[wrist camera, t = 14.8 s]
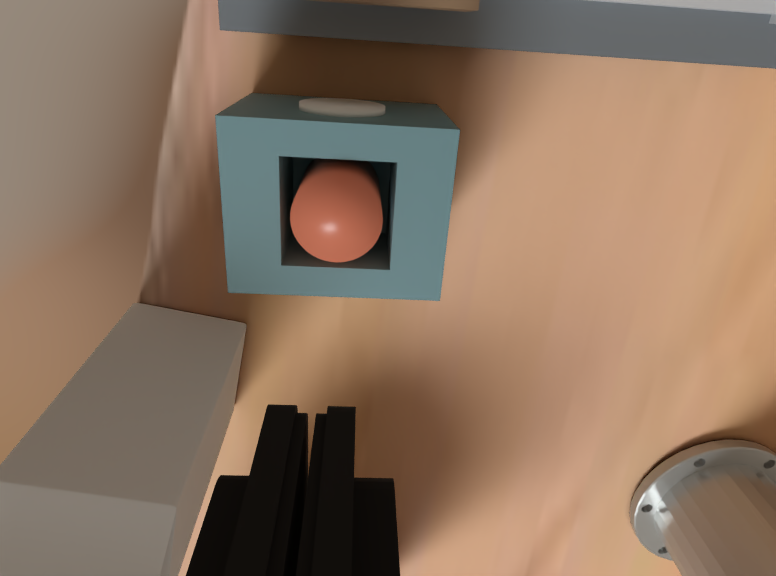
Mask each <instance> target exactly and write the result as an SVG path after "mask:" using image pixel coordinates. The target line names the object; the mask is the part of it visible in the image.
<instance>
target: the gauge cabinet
mask: <svg viewBox="0 0 776 576" xmlns="http://www.w3.org/2000/svg"><path fill="white" fill-rule="evenodd" d="M215 119H216V133H217V147H218V161H219V174H220V188H221V202H222V216H223V230H224V244H225V258H226V272H227V286H228V293H249V294H275V295H302V296H328V297H354V298H381V299H407V300H433V301H440V295H441V287H442V278H443V270H444V261H445V253H446V244H447V236H448V227H449V219H450V211H451V202H452V194H453V185H454V177H455V168H456V160H457V151H458V143H459V135H460V129H459V128H458V127H457V126H456V125H455V124H454V123H453V122H452V121H451V119H450V118H449V117H448V116H447V115H446V114H445V113H444V112H443V111H442V110H441V109H440V108H439V106H438V105H437V104H423V103H407V102H390V101H374V100H358V99H343V98H326V97H310V96H294V95H277V94H261V93H251V94H249V95H248V96H246V97H244V98H243V99H241V100H239V101H238V102H236V103H234V104H233V105H231V106H230V107H228V108H226V109H225V110H223V111H221V112H220V113H218V114H217V115H215ZM315 158H323V159H342V160H360V161H368V162H369V163H370V164H371V165H372V166H373V168H374V170H375V171H376V174H377V176H378V179H379V185H380V195H381V204H382V214H383V224H382V230H381V233H380V236H379V238H378V240H377V241H376V243H375V244H374V246H373V247H372V248H371V249H370V250H369V251H368V252H367V253H365V254H364V255H362V256H361V257H359V258H357V259H354V260H351V261H347V262H329V261H324V260H321V259H319V258H317V257H315V256H313V255H311V254H310V253H308V252H307V251H306V250H305V249H304V248H303V247H302V246H301V245H300V244H299V242H298V241H297V240H296V238H295V236H294V234H293V231H292V228H291V223H290V211H291V206H292V203H293V201H294V198H295V195H296V193H297V190H298V188H299V185H300V183H301V180H302V178H303V175H304V173H305V170H306V169H307V167H308V165H309V164H310V163H311V162H312V161H313V159H315Z"/></svg>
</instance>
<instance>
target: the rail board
mask: <svg viewBox="0 0 776 576" xmlns="http://www.w3.org/2000/svg"><path fill="white" fill-rule="evenodd" d="M218 7H219V23H220V30H225V31H240V32H254V33H269V34H283V35H298V36H312V37H327V38H341V39H356V40H370V41H385V42H399V43H413V44H428V45H442V46H457V47H471V48H486V49H500V50H515V51H529V52H544V53H558V54H573V55H587V56H601V57H616V58H630V59H645V60H659V61H674V62H688V63H703V64H717V65H732V66H746V67H761V68H775V69H776V0H480V1H479V10H478V11H470V12H459V11H446V10H432V9H418V8H405V7H391V6H378V5H364V4H350V3H337V2H323V1H309V0H218Z"/></svg>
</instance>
